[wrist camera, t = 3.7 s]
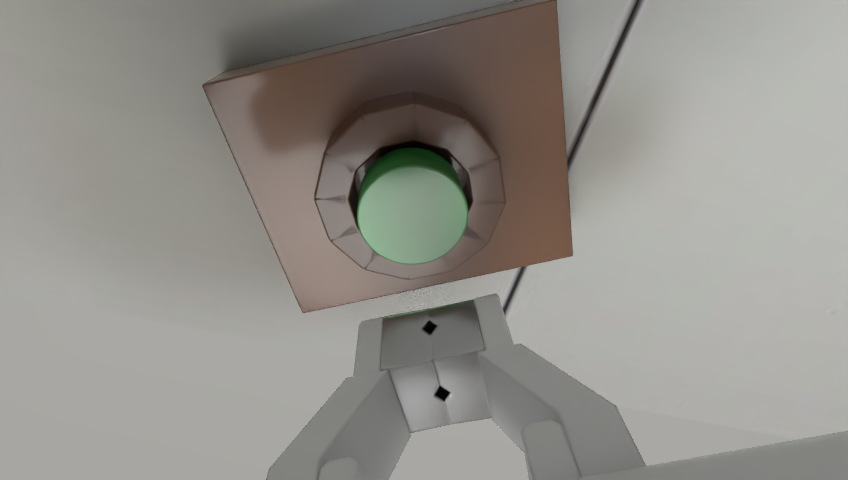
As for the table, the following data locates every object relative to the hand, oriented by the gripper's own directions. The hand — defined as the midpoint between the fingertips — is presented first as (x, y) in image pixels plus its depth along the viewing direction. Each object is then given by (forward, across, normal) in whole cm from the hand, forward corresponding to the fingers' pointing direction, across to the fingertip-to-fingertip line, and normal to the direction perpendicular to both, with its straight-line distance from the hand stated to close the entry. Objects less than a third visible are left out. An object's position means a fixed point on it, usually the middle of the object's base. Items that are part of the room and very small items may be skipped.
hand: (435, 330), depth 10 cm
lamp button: (+7, 0, 0) cm, 7 cm away
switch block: (+11, 0, 0) cm, 11 cm away
